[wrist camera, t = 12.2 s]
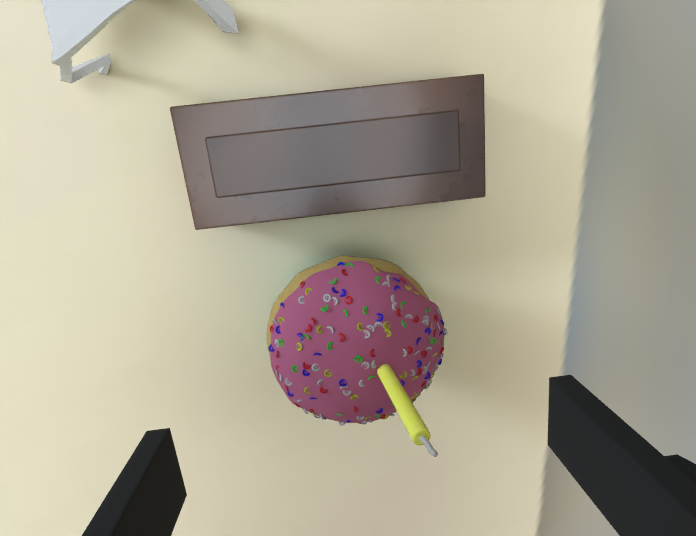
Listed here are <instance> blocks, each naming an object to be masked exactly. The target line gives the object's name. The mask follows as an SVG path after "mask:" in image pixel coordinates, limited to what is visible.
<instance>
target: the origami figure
mask: <svg viewBox="0 0 696 536" xmlns="http://www.w3.org/2000/svg"><path fill="white" fill-rule="evenodd" d="M41 1H42V5H43V10H44V14H45V18H46V22H47V26H48V30H49V35H50V39H51V43H52V47H53V48H52V58H51V63H53V64H56V65H60V80H61V81H63V82H67V83H73V82H75V81H77V80H79V79H81V78H83V77H84V76H86V75H88V74H90V73H92V72H94V71H96V70H98V69H99V74H105V75H107V73H108V70H109V67H110V64H111V59H110V54H107V55H104V56H101V57H99V58H96V59H93V60H90V61H87V62H84V63H82V64H79V65H76V66H73V67H72V59H71V57H72V56H73V55H74V54H75V53H76V52H78V51H79V50H80V49H81V48H82V47H83V46H84V45H85V44H87V43H88V42H89V41H90V40H91V39H92V38H93V37H94V36H95V35H96V34H97V33H98V32H100V31H101V30H102V29H103V28H104V27H105V26H106V25H107V24H108V23H109V22H110V21H111V20H112V19H113V18H114V17H115V16H116V15H117V14H118V13H120V12H121V11H122V10H124V9H125V8H126V7H128V6H129V5H130V4H132V3H133V2H134V1H136V0H41ZM194 1H195V2H196V3H197V4H198V5H199V6H200V7H201V8H203V9H204V10H205V12H206V13H207V14H208V15H209V16H210V17H211V18H212V19H213V21H214V22H215V23H216V24H217V25H218V26H219V27H220V28H221V30H222V31H223V32H235V33H239V32H238V28H237V25H236V21H235V17H234V13H233V10H232V7H231V6H230V5H229V4H227V3H226V2H225V1H224V0H194Z"/></svg>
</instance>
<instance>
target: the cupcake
mask: <svg viewBox="0 0 696 536" xmlns="http://www.w3.org/2000/svg"><path fill="white" fill-rule="evenodd" d="M444 332H446V333H444ZM444 335H447V330H446V329H445V328H444V322H443V320H442V316H441V313H440V310H439V308H438V307H437V305H436V304H435V303H433V302H431V301H430V300H429V299H428V297H427V295H426V294H425V292H424V290H423V289H422V287H421V286H420V285H419V284H418V283H417V282H416V281H415V280H414V279H413V278H412V277H410V276H409V275H408V274H407V273H406V272H404V271H403V270H402V269H401V268H400V267H398V266H397V265H395V264H393V263H391V262H388V261H385V260H380V259H373V258H360V257H352V256H338V257H335V258H332V259H330V260H327V261H325V262H322V263H320V264H317V265H315V266H312V267H309V268H307V269H305V270H303V271H301V272H300V273H299V274H297V275H296V276H295V277H294V278H293V280H292V281H291V282H290V283H289V285H288V286H287V287H286V288H285V289H284V290H283V292H282V293H281V294H280V295H279V296H278V298H277V299H276V301H275V303H274V305H273V307H272V310H271V314H270V318H269V322H268V328H267V344H268V350H269V354H270V359H271V366H272V369H273V372H274V374H275V377H276V379H277V381H278V382H279V384H280V386H281V387H282V389H283V391H284V392H285V394H286V395H287V397H288V398H289V400H290V401H291V402H292V403H293V404H295V405H296V406H298V407H300V408H302V409H303V410H304V411H305V413H306V414H308V412H307V411H309V412H311V413H313V414H314V417H316V418H320V417H321V418H322V419H325V420H326V419H330V420H335V421H339V424H340V425H341V426H342V425H344V424H345V423H360V424H366V423H367V422H372V421H375V420H378V419H387V418H388V416H394V414H392V413H394V412H396V411H397V412H398V414H399V416H400V418H401V420H402V421H403V423H404V425H405V427H406V429H407V431H408V433H409V435H410V437H411V439H412V440H413V442H414V443H415V444H416V445H425V447H426V448H427V450H428V452H429V453H430V454H431V455H432V456H434V457H436V456H437V455H438V453H437V451H436V450H434V448H433V447H432V445H431V443H430V442H429V439H430V432H429V430H428V429H427V427H426V425H425V424H424V422H423V420H422V419H421V417H420V415H419V414H418V412H417V410H416V409H415V407H414V405H413V401H415V400H416V398H417V397H418V396H419V395H420V394H421V392H422V390H423V389H427V388H428V387H429V386H430V384H431V383H432V380H431V378H432V377H433V375H434V372H435V370H437V369H438V365H440V364H441V363H442V359H441V358H442V357H443V353H442V352H443V350H444V347H443V345H444ZM316 415H317V416H319V417H317V416H316ZM343 422H344V423H343ZM363 422H364V423H363ZM341 423H343V424H341Z"/></svg>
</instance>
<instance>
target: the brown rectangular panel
mask: <svg viewBox="0 0 696 536" xmlns="http://www.w3.org/2000/svg"><path fill="white" fill-rule="evenodd" d="M170 111H171V116H172V121H173V125H174V130H175V135H176V140H177V144H178V149H179V154H180V159H181V163H182V168H183V173H184V178H185V182H186V187H187V192H188V197H189V201H190V206H191V211H192V215H193V220H194V225H195V229H196V230H199V229H208V228H217V227H226V226H234V225H243V224H252V223H261V222H269V221H278V220H287V219H296V218H305V217H313V216H322V215H331V214H340V213H348V212H357V211H366V210H375V209H383V208H392V207H401V206H410V205H419V204H427V203H436V202H445V201H454V200H462V199H471V198H480V197H485V121H484V74H477V75H467V76H458V77H448V78H439V79H429V80H420V81H410V82H401V83H392V84H382V85H373V86H363V87H354V88H344V89H335V90H325V91H316V92H306V93H297V94H288V95H278V96H269V97H259V98H250V99H240V100H231V101H221V102H212V103H202V104H193V105H184V106H174V107H170Z"/></svg>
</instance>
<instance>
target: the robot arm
mask: <svg viewBox="0 0 696 536" xmlns="http://www.w3.org/2000/svg"><path fill="white" fill-rule="evenodd" d="M548 446H549V447H550V448H551V449H552V451H553V452H554V453H555V454H556V456H557V457H558V458H559V459H560V461H561V462H562V463H563V465H564V466H565V467H566V468H567V470H568V471H569V472H570V473H571V475H572V476H573V477H574V478H575V480H576V481H577V482H578V484H579V485H580V486H581V487H582V489H583V490H584V491H585V492H586V494H587V495H588V496H589V497H590V499H591V500H592V501H593V502H594V504H595V505H596V506H597V508H598V509H599V510H600V511H601V512H602V514H603V515H604V516H605V518H606V519H607V520H608V521H609V523H610V524H611V525H612V526H613V528H614V529H615V530H616V532H617V533H618V534H619V535H620V536H696V464H694V463H692V462H691V461H688V460H687V459H685V458H683V457H681V456H679V455H671V456H663V455H662V454H661V453H660V452H658V450H656V449H655V448H654V447H653V446H652V445H651V444H649V443H648V442H647V441H646V440H645V439H644V438H643V437H641V436H640V435H639V434H638V433H637V432H636V431H635V430H633V429H632V428H631V427H630V426H629V425H628V424H626V423H625V422H624V421H623V420H622V419H621V418H620V417H618V416H617V415H616V414H615V413H614V412H613V411H612V410H611V409H609V408H608V407H607V406H605V404H604V403H602V402H601V401H600V400H599V399H598V398H597V397H596V396H594V395H593V394H592V393H591V392H590V391H589V390H588V389H586V388H585V387H584V386H583V385H582V384H581V383H579V382H578V381H577V380H576V379H575V378H574V377H573V376H571V375H566V376H558V377H551V378H549V413H548ZM186 495H187V494H186V490H185V486H184V482H183V478H182V474H181V470H180V466H179V462H178V459H177V455H176V451H175V447H174V443H173V439H172V435H171V431H170V428H167V429H159V430H152V431H147V432H146V433H145V435H144V436H143V438H142V440H141V441H140V443H139V444H138V446H137V448H136V449H135V451H134V452H133V454H132V456H131V457H130V459H129V461H128V462H127V464H126V465H125V467H124V469H123V470H122V472H121V473H120V475H119V477H118V478H117V480H116V481H115V483H114V485H113V486H112V488H111V489H110V491H109V493H108V494H107V496H106V498H105V499H104V501H103V502H102V504H101V506H100V507H99V509H98V510H97V512H96V514H95V515H94V517H93V518H92V520H91V522H90V523H89V525H88V526H87V528H86V530H85V531H84V533H83V535H82V536H171V534H172V532H173V529H174V526H175V524H176V521H177V519H178V516H179V513H180V511H181V508H182V506H183V503H184V501H185V498H186Z"/></svg>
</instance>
